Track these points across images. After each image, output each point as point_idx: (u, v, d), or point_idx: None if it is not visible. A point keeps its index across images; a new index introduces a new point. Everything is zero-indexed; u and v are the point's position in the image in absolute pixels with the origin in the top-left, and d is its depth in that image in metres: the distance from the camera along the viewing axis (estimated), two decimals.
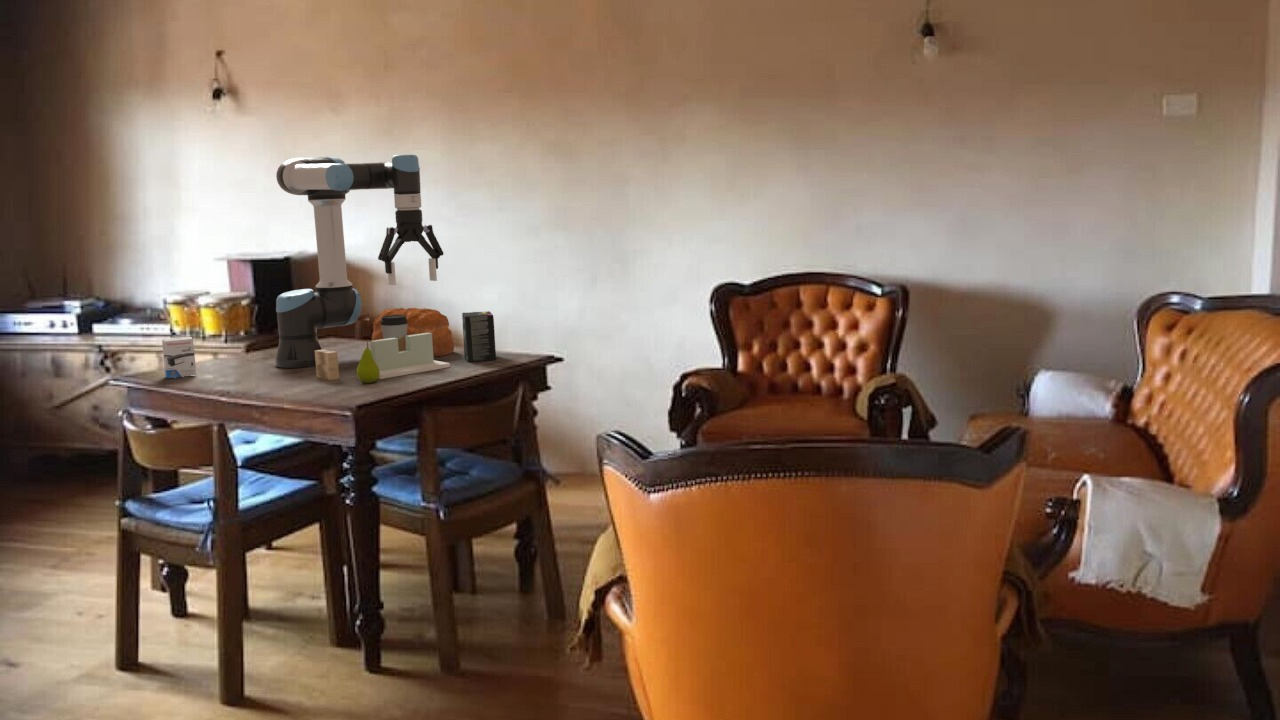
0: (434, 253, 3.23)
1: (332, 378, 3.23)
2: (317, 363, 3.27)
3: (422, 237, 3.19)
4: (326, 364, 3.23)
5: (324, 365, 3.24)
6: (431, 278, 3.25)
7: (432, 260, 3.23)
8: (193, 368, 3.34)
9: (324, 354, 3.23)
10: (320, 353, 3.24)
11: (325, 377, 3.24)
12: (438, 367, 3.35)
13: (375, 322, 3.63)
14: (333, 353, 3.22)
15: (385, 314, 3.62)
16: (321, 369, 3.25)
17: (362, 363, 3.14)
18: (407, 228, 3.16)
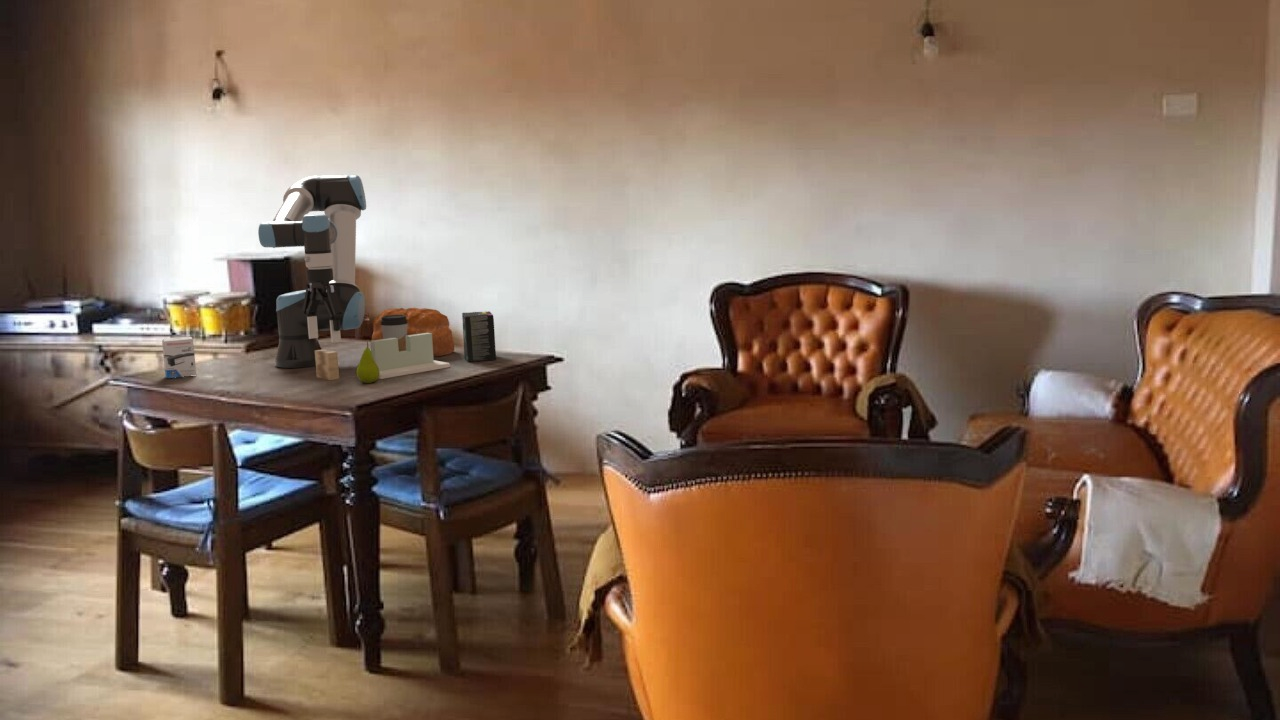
0: (330, 314, 3.17)
1: (332, 378, 3.23)
2: (317, 363, 3.27)
3: (320, 297, 3.19)
4: (326, 364, 3.23)
5: (324, 365, 3.24)
6: None
7: None
8: (193, 368, 3.34)
9: (324, 354, 3.23)
10: (320, 353, 3.24)
11: (325, 377, 3.24)
12: (438, 367, 3.35)
13: (375, 322, 3.62)
14: (333, 353, 3.22)
15: (385, 314, 3.62)
16: (321, 369, 3.25)
17: (362, 363, 3.14)
18: (314, 286, 3.22)
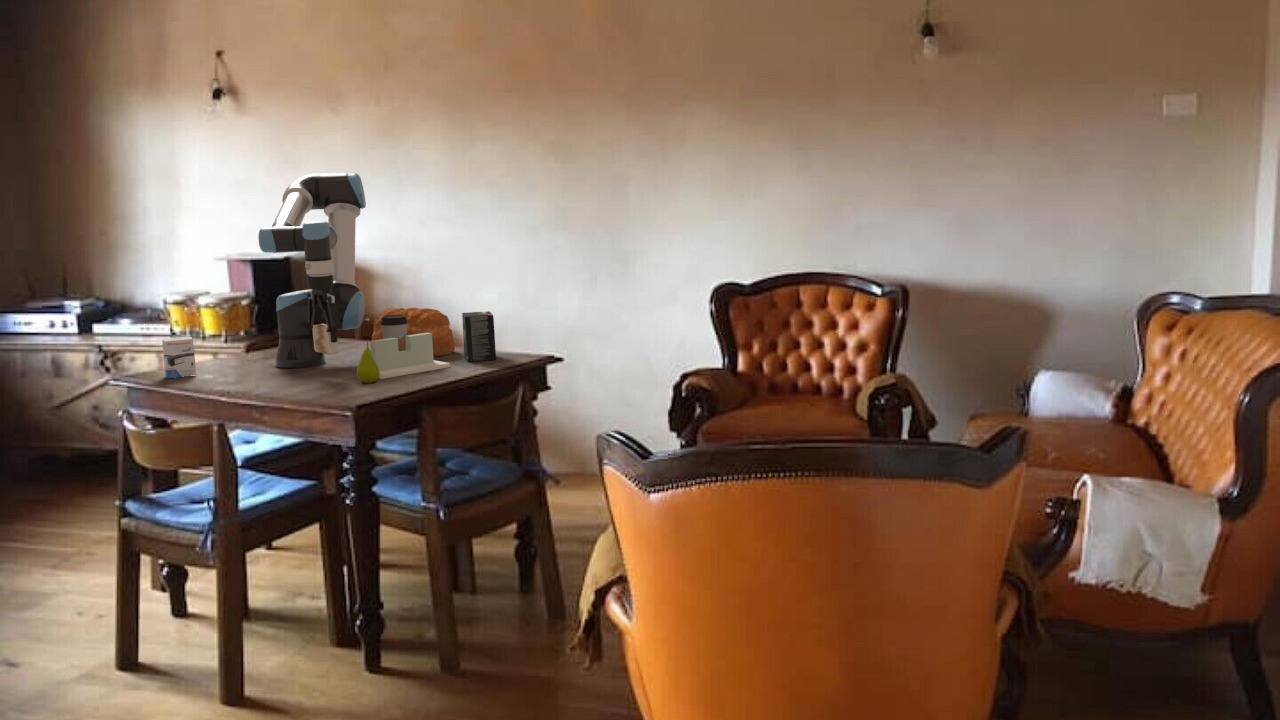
0: (328, 326, 3.20)
1: None
2: (315, 338, 3.26)
3: (320, 305, 3.20)
4: (325, 338, 3.22)
5: (323, 339, 3.23)
6: None
7: None
8: (193, 368, 3.34)
9: (323, 328, 3.22)
10: (318, 327, 3.24)
11: (324, 351, 3.24)
12: (438, 367, 3.35)
13: (375, 322, 3.62)
14: None
15: (386, 314, 3.61)
16: (320, 343, 3.25)
17: (362, 363, 3.14)
18: (315, 293, 3.23)
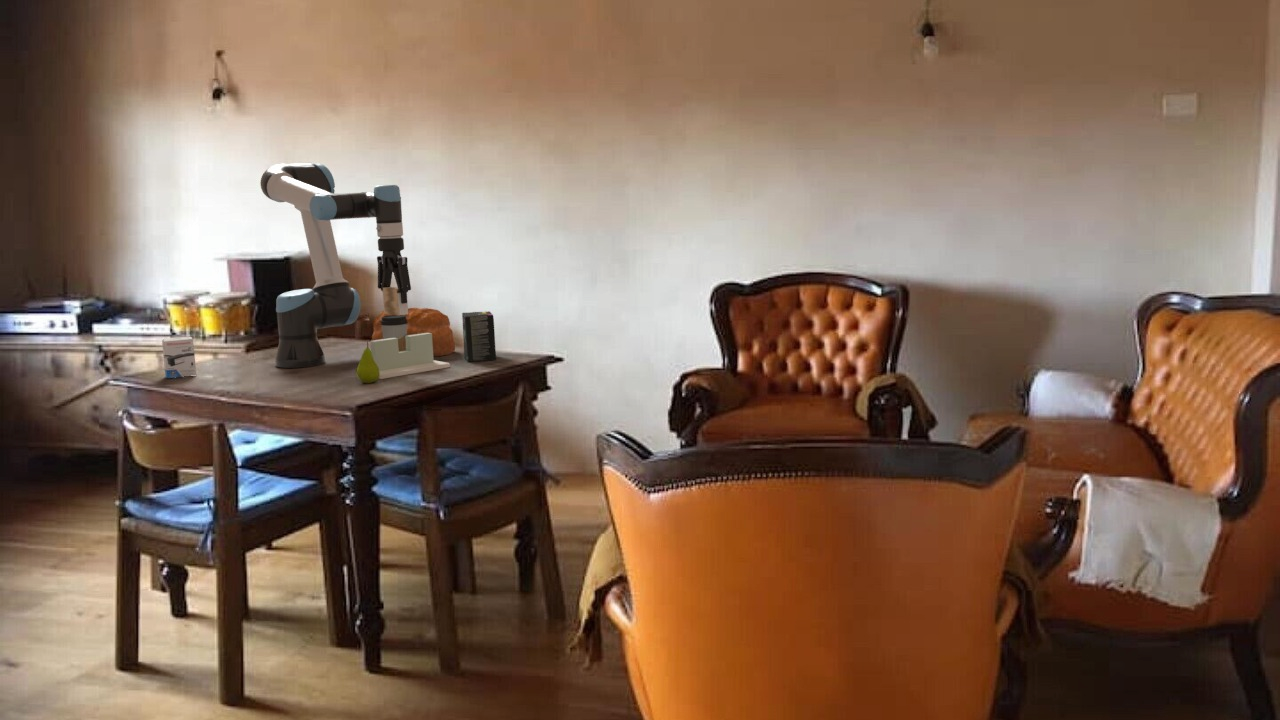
0: (398, 287, 3.25)
1: None
2: (385, 300, 3.32)
3: (391, 267, 3.26)
4: (395, 300, 3.27)
5: (393, 301, 3.28)
6: None
7: None
8: (193, 368, 3.34)
9: (392, 290, 3.27)
10: (388, 289, 3.29)
11: (393, 313, 3.29)
12: (438, 367, 3.35)
13: (376, 323, 3.62)
14: None
15: (386, 314, 3.61)
16: (390, 305, 3.30)
17: (362, 363, 3.14)
18: (385, 256, 3.29)
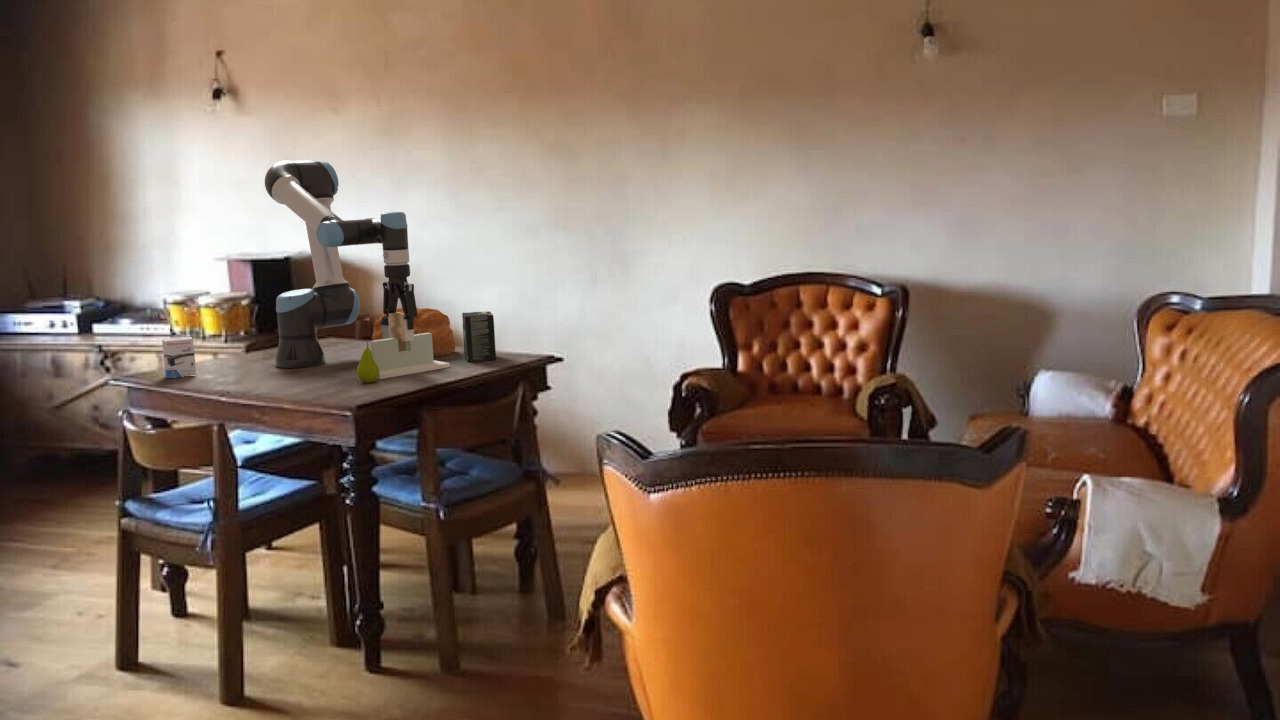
0: (405, 313, 3.28)
1: None
2: (391, 326, 3.34)
3: (397, 293, 3.28)
4: (401, 326, 3.29)
5: (399, 327, 3.30)
6: None
7: None
8: (193, 368, 3.34)
9: (399, 316, 3.30)
10: (394, 315, 3.31)
11: (400, 339, 3.31)
12: (438, 367, 3.35)
13: (376, 323, 3.62)
14: None
15: None
16: (396, 331, 3.32)
17: (362, 363, 3.14)
18: (391, 282, 3.31)
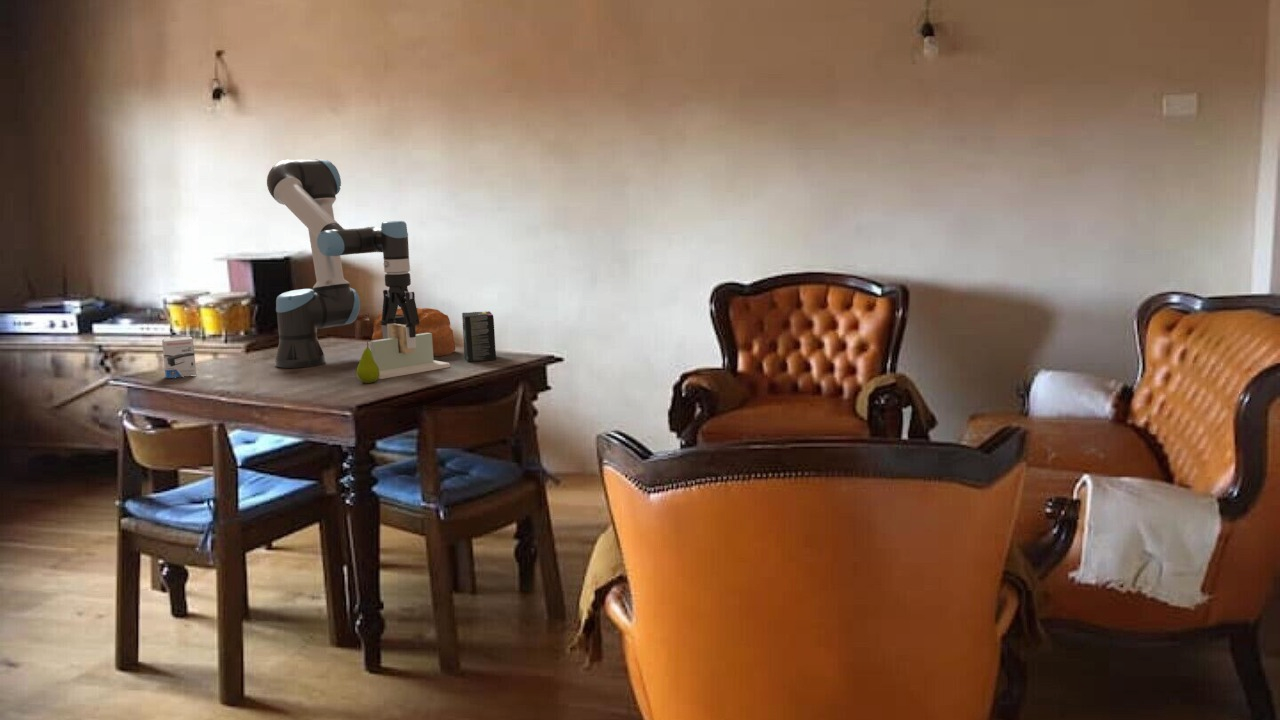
0: (407, 321, 3.27)
1: (407, 352, 3.31)
2: (391, 337, 3.34)
3: (398, 302, 3.28)
4: (402, 338, 3.30)
5: (399, 339, 3.31)
6: None
7: None
8: (193, 368, 3.34)
9: (399, 328, 3.30)
10: (395, 327, 3.32)
11: (400, 351, 3.32)
12: (438, 367, 3.35)
13: (376, 323, 3.62)
14: None
15: None
16: None
17: (362, 363, 3.14)
18: (392, 291, 3.31)
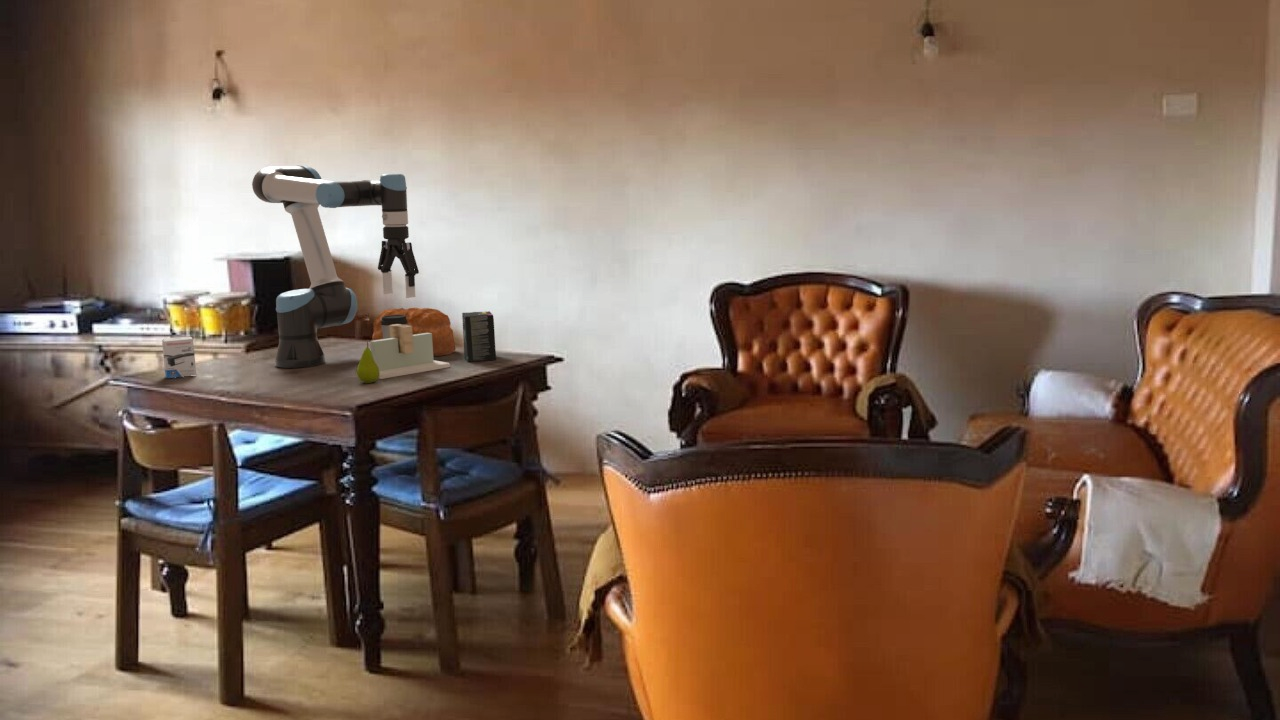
0: (406, 271, 3.29)
1: (407, 352, 3.31)
2: (391, 337, 3.34)
3: (396, 254, 3.31)
4: (402, 338, 3.30)
5: (399, 339, 3.31)
6: None
7: None
8: (193, 368, 3.34)
9: (399, 328, 3.30)
10: (395, 327, 3.32)
11: (400, 351, 3.32)
12: (438, 367, 3.35)
13: (376, 323, 3.62)
14: (408, 327, 3.30)
15: (386, 314, 3.61)
16: None
17: (362, 363, 3.14)
18: (390, 243, 3.34)
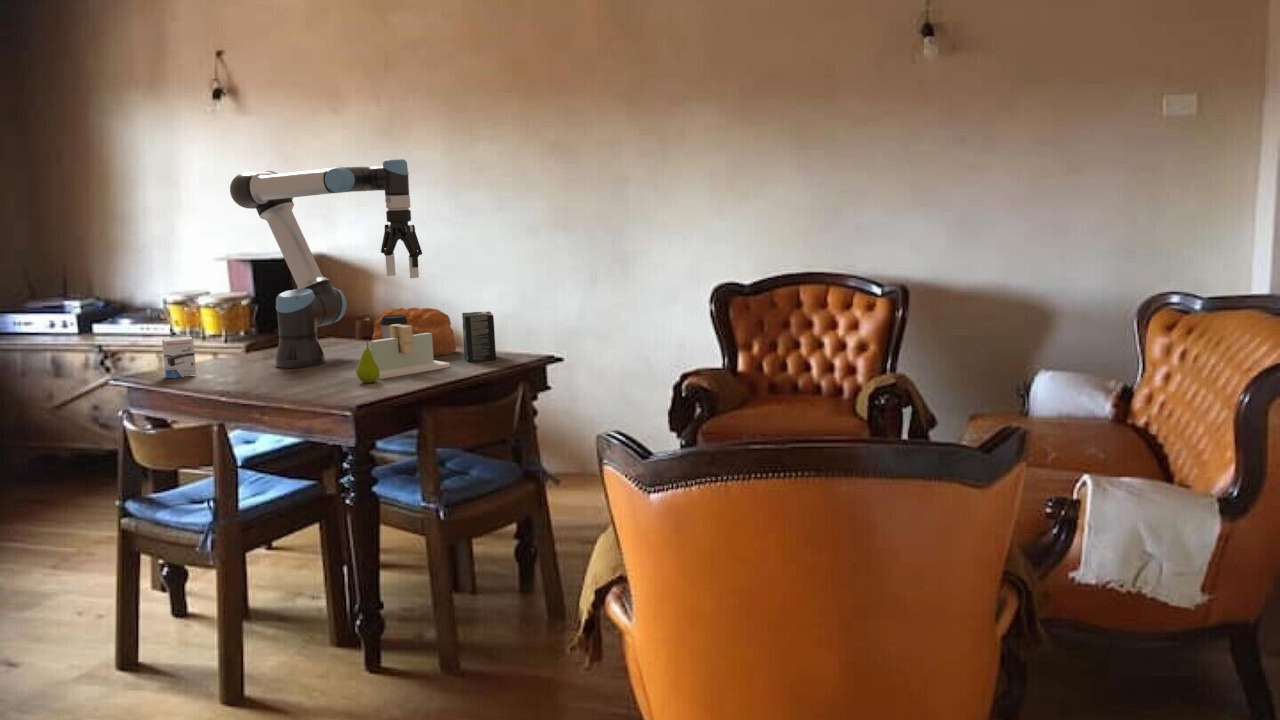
0: (409, 252, 3.41)
1: (407, 352, 3.31)
2: (391, 337, 3.34)
3: (400, 236, 3.43)
4: (402, 338, 3.30)
5: (399, 339, 3.31)
6: None
7: None
8: (193, 368, 3.34)
9: (399, 328, 3.30)
10: (395, 327, 3.32)
11: (400, 351, 3.32)
12: (438, 367, 3.35)
13: (376, 323, 3.62)
14: (408, 327, 3.30)
15: (386, 314, 3.61)
16: None
17: (362, 363, 3.14)
18: (394, 226, 3.46)
